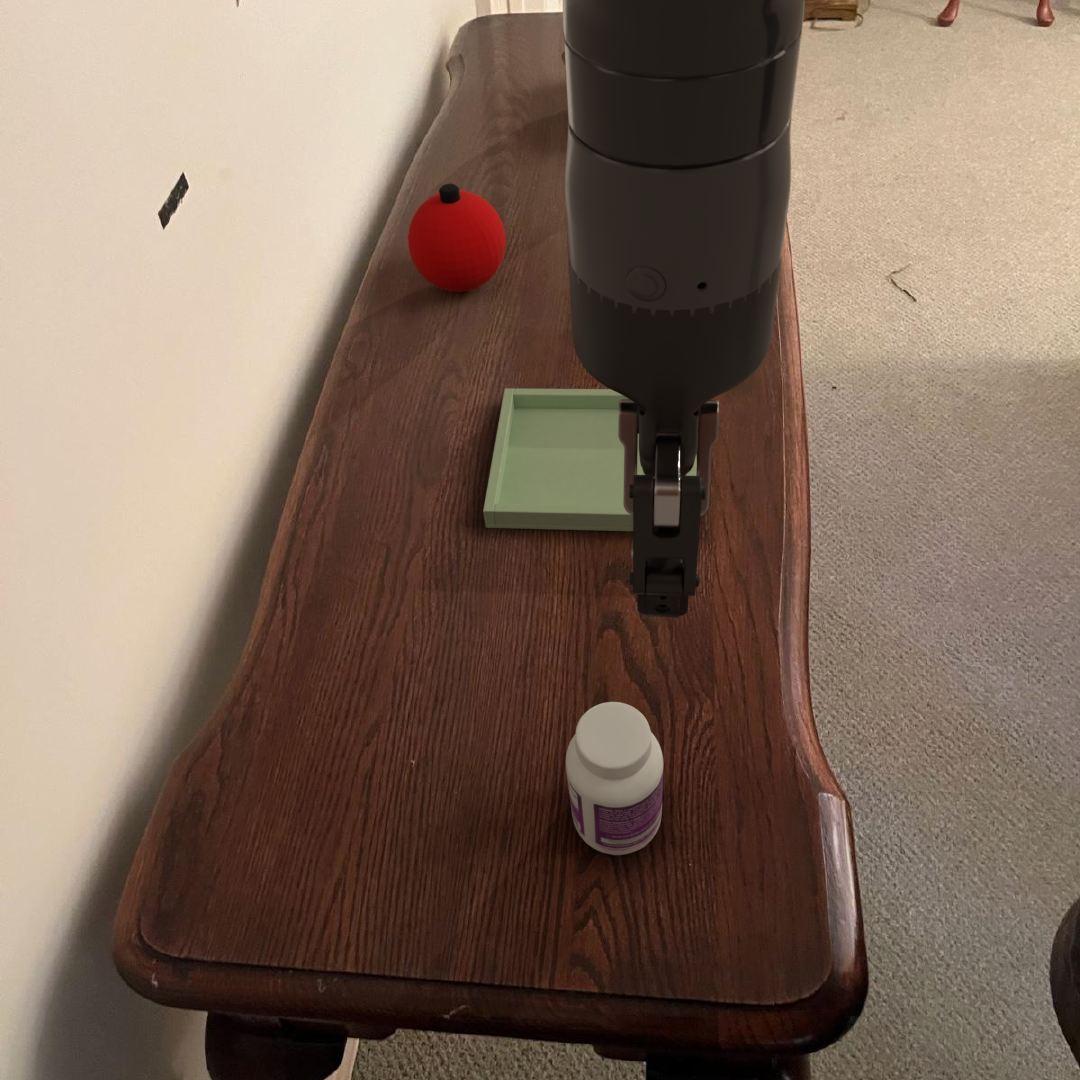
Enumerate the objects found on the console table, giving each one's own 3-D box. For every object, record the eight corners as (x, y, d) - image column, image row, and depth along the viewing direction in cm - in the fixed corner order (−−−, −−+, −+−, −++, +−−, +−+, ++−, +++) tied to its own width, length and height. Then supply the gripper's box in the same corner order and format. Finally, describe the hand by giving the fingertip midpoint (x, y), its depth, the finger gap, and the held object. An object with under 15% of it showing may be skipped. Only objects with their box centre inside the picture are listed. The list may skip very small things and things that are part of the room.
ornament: (428, 254, 99) (410, 159, 91) (517, 256, 97) (507, 160, 90) (407, 310, 93) (386, 214, 85) (501, 313, 92) (489, 216, 84)
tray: (694, 407, 82) (696, 389, 80) (695, 533, 73) (697, 515, 71) (506, 405, 83) (504, 387, 82) (485, 528, 75) (482, 511, 73)
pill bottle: (677, 797, 60) (683, 715, 52) (636, 874, 57) (637, 798, 50) (597, 758, 62) (592, 674, 54) (554, 830, 59) (543, 751, 52)
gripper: (798, 371, 30) (750, 667, 42) (772, 132, 39) (739, 433, 51) (549, 369, 31) (573, 660, 43) (581, 136, 40) (593, 431, 52)
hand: (663, 536), depth 47 cm, fingers open, 8 cm apart
